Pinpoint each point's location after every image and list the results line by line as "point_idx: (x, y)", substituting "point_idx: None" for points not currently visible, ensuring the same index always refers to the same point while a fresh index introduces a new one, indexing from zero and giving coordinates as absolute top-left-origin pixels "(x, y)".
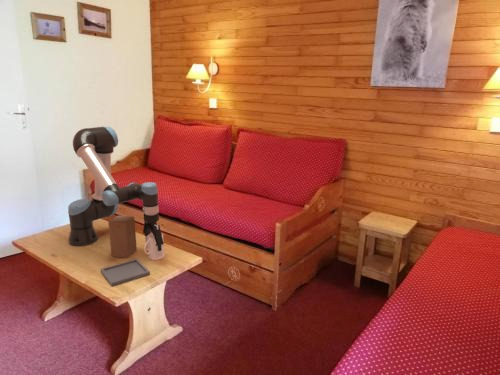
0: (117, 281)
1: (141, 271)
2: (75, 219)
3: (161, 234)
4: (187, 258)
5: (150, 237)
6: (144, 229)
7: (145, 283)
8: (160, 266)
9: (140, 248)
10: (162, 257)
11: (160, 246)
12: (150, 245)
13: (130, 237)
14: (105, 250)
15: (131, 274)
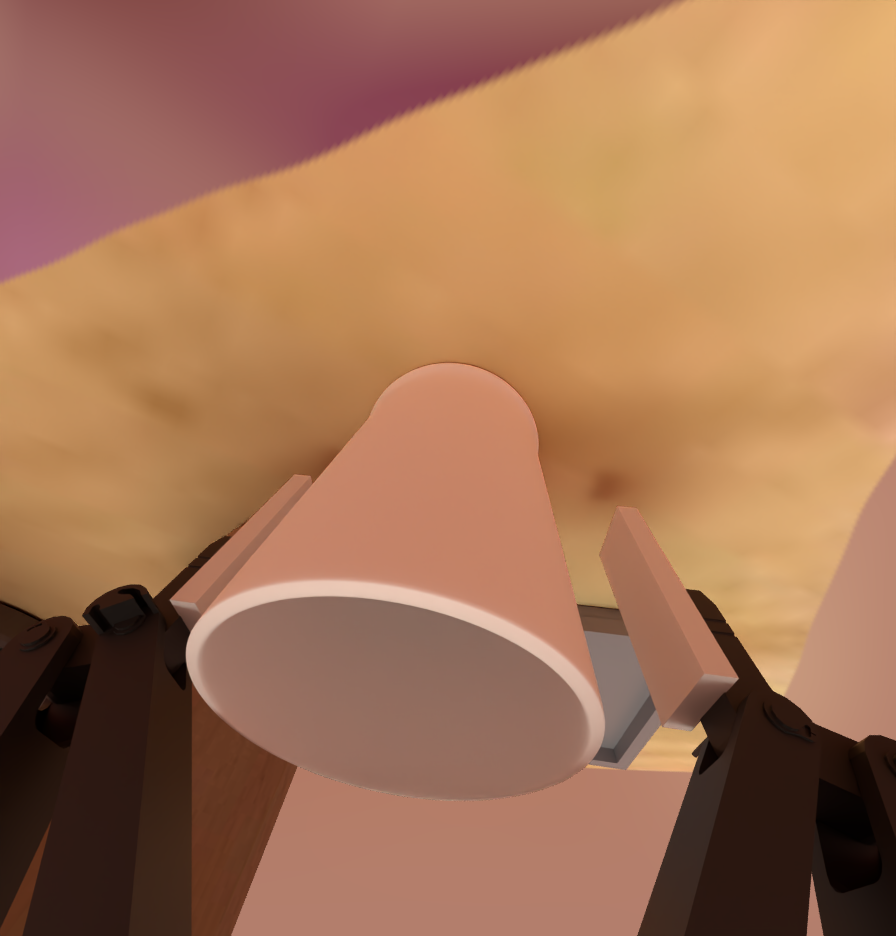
0: (634, 754)
1: (630, 647)
2: None
3: (360, 566)
4: (865, 115)
5: (292, 638)
6: (53, 809)
7: (769, 673)
8: (669, 517)
9: (214, 477)
10: (535, 427)
11: (750, 680)
12: (473, 642)
13: (220, 766)
14: None
15: (609, 686)
